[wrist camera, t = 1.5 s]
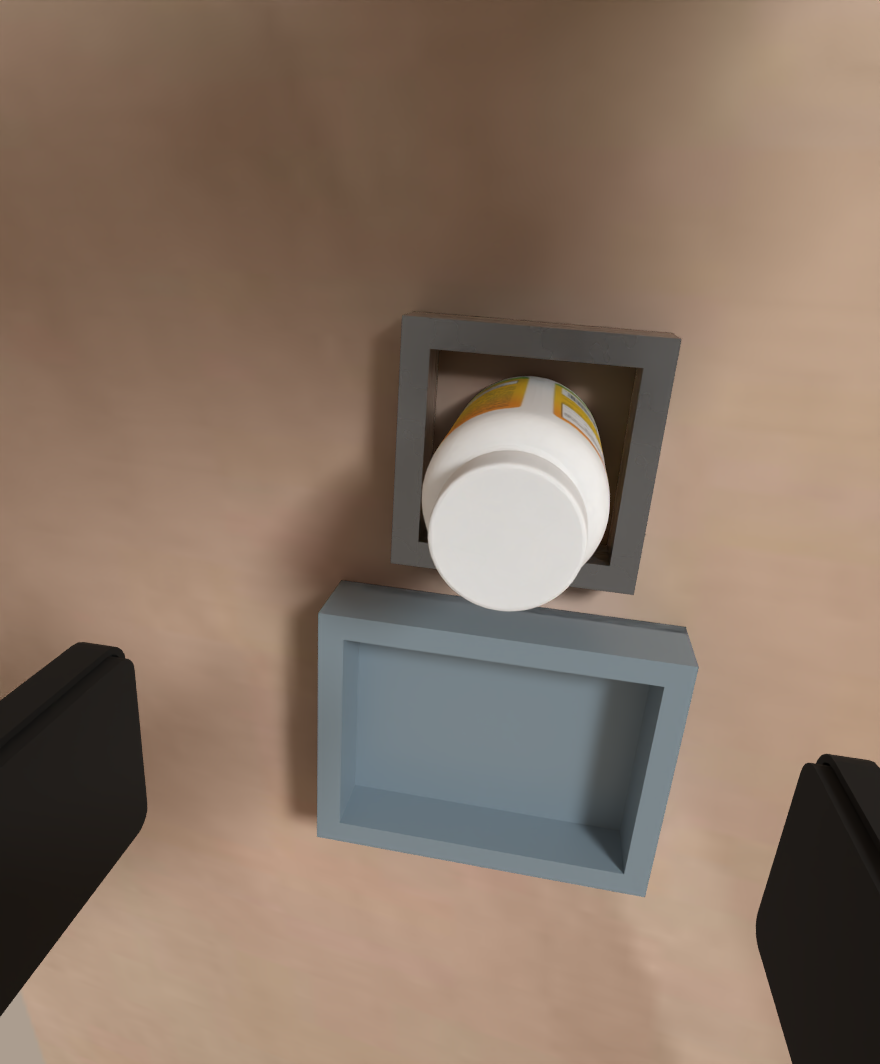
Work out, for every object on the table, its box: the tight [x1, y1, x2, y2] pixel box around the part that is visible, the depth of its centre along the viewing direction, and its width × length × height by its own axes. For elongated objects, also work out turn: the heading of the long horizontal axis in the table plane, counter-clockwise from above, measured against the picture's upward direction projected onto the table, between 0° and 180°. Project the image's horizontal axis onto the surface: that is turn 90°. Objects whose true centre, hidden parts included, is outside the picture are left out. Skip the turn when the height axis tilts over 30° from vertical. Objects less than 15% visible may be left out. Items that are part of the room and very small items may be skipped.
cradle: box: [391, 311, 681, 595], centre depth 25 cm, size 9×9×2 cm
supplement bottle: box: [422, 376, 610, 611], centre depth 22 cm, size 5×5×10 cm
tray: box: [317, 580, 699, 897], centre depth 29 cm, size 11×14×3 cm
